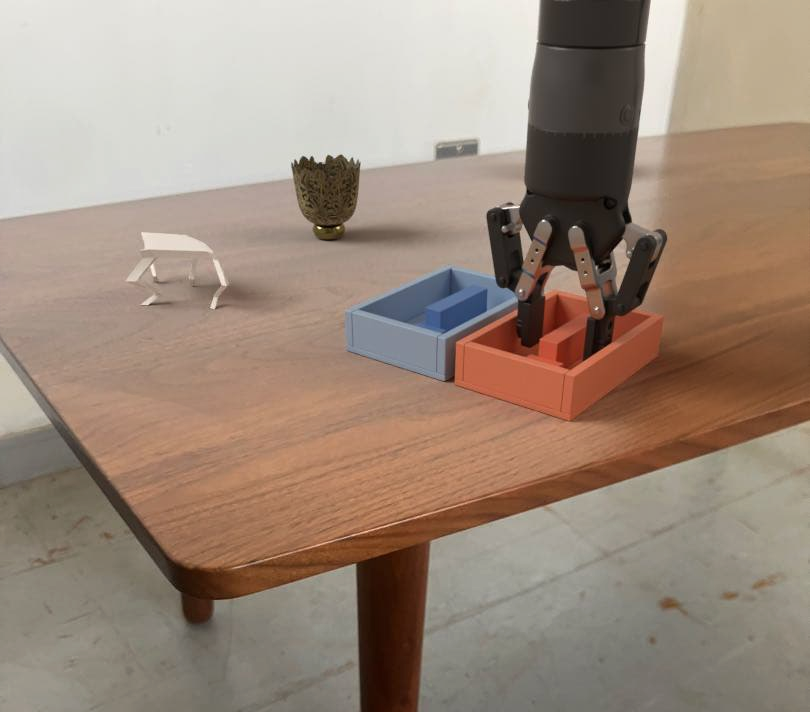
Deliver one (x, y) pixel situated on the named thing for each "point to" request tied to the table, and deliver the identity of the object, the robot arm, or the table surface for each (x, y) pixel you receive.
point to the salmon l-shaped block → (563, 343)
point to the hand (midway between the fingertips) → (561, 351)
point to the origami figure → (173, 248)
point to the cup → (327, 193)
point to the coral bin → (547, 384)
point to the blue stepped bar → (455, 309)
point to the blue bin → (421, 321)
